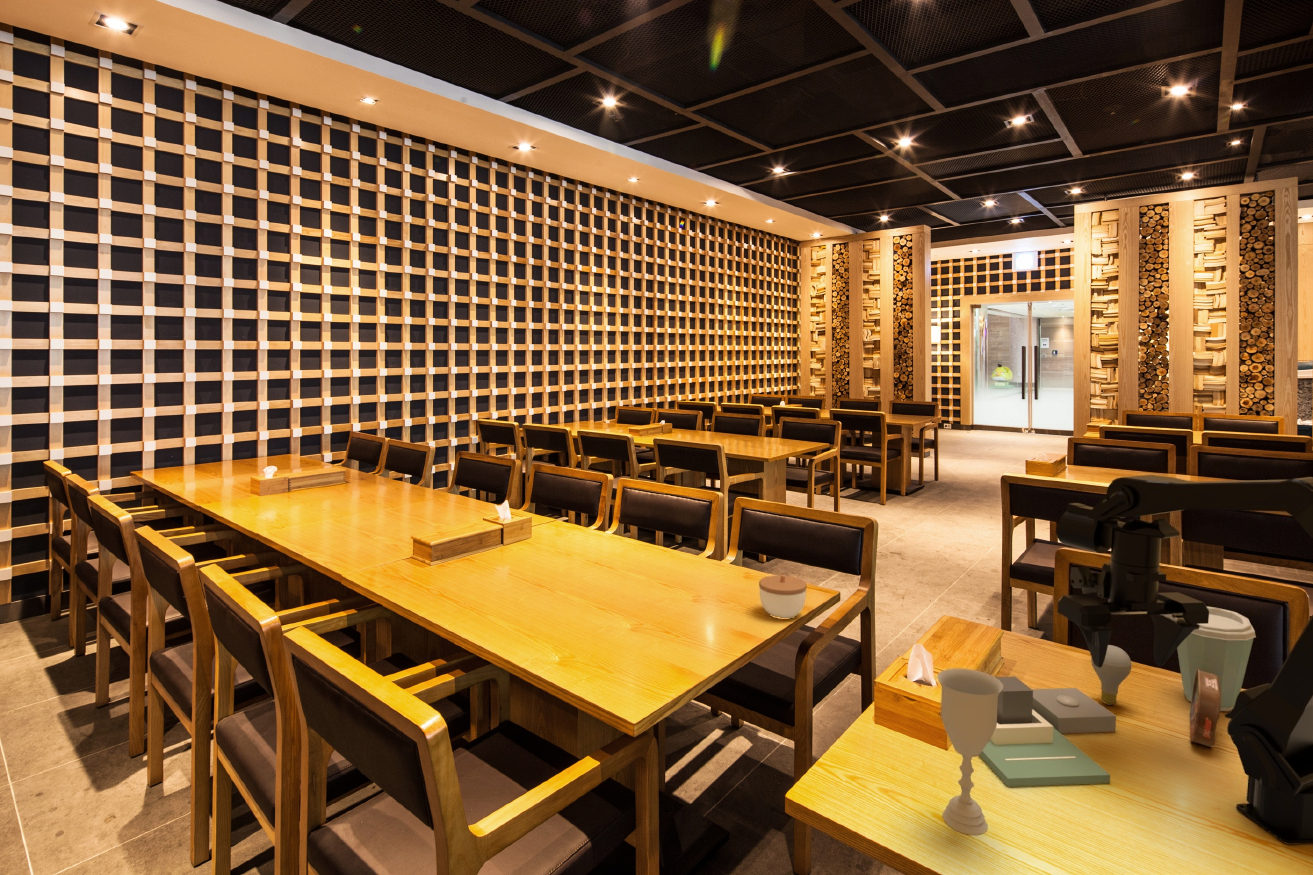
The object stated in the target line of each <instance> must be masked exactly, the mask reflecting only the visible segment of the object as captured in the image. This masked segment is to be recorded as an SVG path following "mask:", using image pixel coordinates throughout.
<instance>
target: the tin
mask: <svg viewBox="0 0 1313 875" xmlns="http://www.w3.org/2000/svg"><path fill="white" fill-rule="evenodd" d="M1220 710H1221V689H1220V682H1219V677H1218V676H1217V675H1214V674H1211V673H1207V672H1204V671H1200V670H1199V669H1198V670H1197V672H1196V676H1195V681H1194V686H1193V693H1192V701H1191V702H1190V708H1189V742H1191V743H1196V744H1199V745H1203V746H1206V747H1209V748H1213V747H1214V746H1215V744H1216V740H1217V737H1216V731H1217V725H1218V722H1219V719H1220V716H1221V711H1220Z"/></svg>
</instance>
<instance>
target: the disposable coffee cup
mask: <svg viewBox="0 0 1313 875" xmlns="http://www.w3.org/2000/svg"><path fill="white" fill-rule="evenodd" d="M1206 607H1207V608H1208V610H1209V622H1208V624H1199V625H1200V628H1199V629H1195V630H1193V631H1192V632H1191V634H1190V635H1189V636H1188V637H1187V638H1186V639H1185V640H1184V641H1183V642H1182V643H1181V644H1180V645H1179V646H1178V647H1177V649H1176V650H1177V654H1178V656H1177V657H1178V664H1179V669H1180V676H1181V683H1182V691H1183V694H1184V696H1185V697H1186V698H1185V699H1186V701H1188V702H1190V703H1191V701H1192V693H1193V686H1194V681H1195V676H1196V672H1197V670H1198V669H1199V670H1200V671H1204V672H1207V673H1211V674H1214V675H1217V676H1218V677H1219V682H1220V689H1221V710H1220V712H1230V711H1231V710H1232V709H1233V708H1234V706H1235V702H1236V699H1237V696H1238V694H1239V693H1240V692H1241V691H1242V687H1243V682H1244V678H1245V674H1246V671H1247V665H1248V662H1249V657H1250V655H1251V650H1252V646H1253V642H1254V638H1255V639H1256V638H1257V636H1256V631H1255V629H1254V627H1253V625H1252V624H1251V622H1250V620H1249V618H1248V617H1246V616H1244V615H1242V614H1240V613H1238V612H1236V611H1233V610H1228V609H1225V608H1224V609H1223V608H1219V607H1216V606H1215V607H1213V606H1207V605H1206Z"/></svg>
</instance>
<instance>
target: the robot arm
mask: <svg viewBox="0 0 1313 875" xmlns="http://www.w3.org/2000/svg"><path fill="white" fill-rule="evenodd" d="M1179 511H1227V512H1229V511H1234V512H1235V511H1237V512H1238V511H1240V512H1241V511H1244V512H1245V511H1247V512H1251V511H1252V512H1286V513H1287V514H1288V515H1290V516H1291V517H1293V518H1294V519H1295V520H1296V521H1297V523H1299V525H1300V526H1301V527H1302V529H1303V530H1304V531H1305V532H1306V533H1307V534H1308V535H1309V536H1310V538H1311V539H1313V476H1306V477H1299V478H1297V477H1296V478H1291V479H1267V480H1266V479H1263V480H1261V479H1258V480H1257V479H1255V480H1254V479H1253V480H1219V481H1218V480H1215V481H1214V480H1213V481H1211V480H1210V481H1208V480H1207V481H1194V480H1186V479H1182V478H1177V477H1172V476H1166V475H1165V476H1164V475H1156V474H1144V475H1135V476H1134V475H1133V476H1123V477H1116V478H1114V479H1113V480H1112V481H1111V483H1110V484H1109V485H1108V486H1107V489H1106V494H1105V495H1104V496H1103V497H1102V498H1101V499H1100V500H1099V501H1098V502H1097V503H1096V504H1095V506H1088V505H1086V504H1083V503H1079V502H1073V503H1067V505H1066V511H1065V512H1063V514H1062V515H1061V516H1060V519H1059V520H1058V524H1056V526H1055V527H1056V529H1055V531H1056V533H1055V534H1056V537H1057V539H1058V541H1059V542H1060V543H1061V544H1063V545H1065V546H1070V547H1073V548H1077V549H1081V550H1085V551H1088V552H1094V553H1096V554H1105V553H1107V552H1109V550H1110V561H1109V562H1106V563H1105V562H1104V563H1103V565H1102V566H1101V572H1092V571H1091V570H1090V567H1089V566H1077V567H1076V566H1074V567H1071V568H1070V575H1069V576H1070V579H1069V580H1070V585H1071V587H1072V588H1074V589H1081V590H1082V594H1066V595H1062V596H1061V597H1060V598H1059V599H1058V600H1057V613H1058V614H1060V615H1062V616H1063V617H1064V618H1066V619H1068V620H1069V621H1071V622H1072V623H1074V624H1076V625H1077V627H1078V628H1079V629H1080V631H1081V633H1082V635H1083V637H1084V639H1085V642H1086V646H1087V648H1088V650H1089V651H1088V652H1089V653H1090V657H1092V660H1093V662H1094V665H1095V666H1097V667H1099V668H1101V667H1102V665H1103V663H1104V660H1105V656H1106V652H1107V648H1108V645H1109V642H1110V638H1111V634H1112V632H1113V628H1112V627H1110V626H1108V624H1110V623H1111V621H1112V616H1113V617H1116V616H1120V617H1121V616H1150V617H1151V620H1152V622H1153V624H1154V639H1153V640H1154V643H1153V644H1154V645H1153V655H1154V656H1153V658H1154V659H1153V660H1154V663H1155V664H1156V665H1157V666H1164V665H1165V663H1166V662H1167V661H1168V660H1169V659H1170V658H1171V656H1172V655H1173V653H1174V652H1175V651H1176V650H1177V647H1178V646H1179V645H1180V644H1181V643H1182V642H1183V641H1184V640H1185V639H1186V638H1187V637H1188V636H1189V635H1190V634H1191V632H1192V631H1193V630H1195V629H1199V628H1200V625H1199V624H1208V622H1209V610H1208V608H1207V607H1208V606H1207V605H1206V604H1205V602H1203V601H1201V600H1199V599H1196V598H1193V597H1191V596H1189V595H1186V594H1183V593H1181V592H1178V591H1177V592H1175V591H1174V592H1159V582H1167V574H1166V573H1165V572H1162V571H1160V563H1161V550H1162V549H1161V548H1162V547H1161V546H1162V540H1163V539H1164V540H1165V539H1169V538H1175V537H1177V538H1178V537H1180V535H1181V533H1180V531H1178V529H1177V528H1176V527H1174V526H1172V524H1170V523H1169V521H1168V519H1167V518H1158V519H1154V520H1152V521H1147V520H1145V519H1144V520H1142V519H1139V518H1138V517H1145V516H1153V515H1159V514H1160V515H1161V514H1167V513H1172V512H1173V513H1174V512H1179ZM1136 517H1137V518H1136ZM1124 518H1126V519H1127V518H1132V519H1129V520H1127V521H1126V522H1124V521H1121V520H1119V519H1124ZM1091 593H1097V597H1099V598H1101V599H1106V600H1107V601H1099V600H1097V599H1095V598H1093V597H1091V596H1089V595H1090V594H1091ZM1206 606H1207V607H1206ZM1224 717H1225V718H1226V719H1230V720H1229V721H1228V723H1227V727H1226V728H1227V729H1226V730H1227V735H1229V737H1230V739H1231V741H1232V743H1233V744H1234V746H1235V747H1236V749H1237V753H1238V756H1239V760H1240V762H1241V765H1242V769H1243V772H1244V774H1245V775H1246V776H1248V777H1247V788H1246V801H1247V803H1236V807H1235V809H1236V810H1237V811H1239V812H1240V813H1242V814H1243V815H1245V817H1247V818H1248V819H1250V820H1251V821H1253V822H1254V823H1256V824H1257V825H1258V826H1259V827H1261V828H1262V829H1264V830H1266V831H1267V832H1268V833H1269V834H1272V836H1274V837H1275V838H1277V840H1279V841H1281V842H1283V843H1284V844H1287V845H1297V844H1298V845H1300V844H1301V845H1302V844H1313V614H1312V615H1311V617H1310V618H1309V620H1308V622H1307V624H1306V626H1305V627H1304V629H1303V630H1302V632H1301V633H1300V635H1299V637H1298V638H1297V641H1296V642H1295V644H1294V646H1293V647H1292V648H1291V650H1290V652H1289V653H1288V655H1287V658H1286V659H1285V661H1283V664H1282V665H1281V667H1280V669H1279V671H1278V672H1277V675H1276V676H1274V679H1273V681H1272V682H1271V683H1269V682H1268V683H1265V684H1261V685H1257V686H1255V687H1250V688H1247V689H1244V690H1241V691H1240V693H1239V694H1238V696H1237V699H1236V702H1235V706H1234V708H1233V709H1232V710H1230V711H1228V712H1227V713H1225V714H1224Z"/></svg>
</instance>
